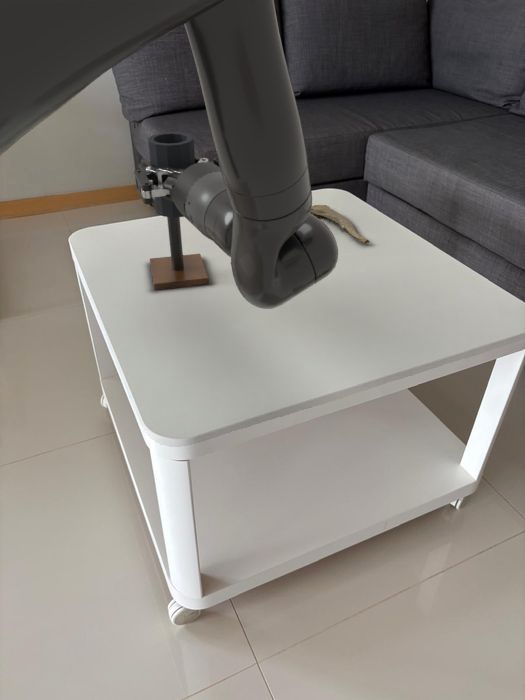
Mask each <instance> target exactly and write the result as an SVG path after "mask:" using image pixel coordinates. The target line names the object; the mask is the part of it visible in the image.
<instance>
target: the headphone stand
mask: <svg viewBox="0 0 525 700" xmlns="http://www.w3.org/2000/svg"><path fill="white" fill-rule="evenodd" d="M166 218H167V219H166V220H167V230H168V239H169V249H170V250H169V251H170V256H161V257H152V258H149V265H150V270H151V272H150V273H151V276H152V282H153V288H154V289H153V290H154V291H159V290H167V289H177V288H184V287H185V288H186V287H193V286H202V285H209V276H208V272H207V270H206V267H205V264H204V260H203V257H202V255H201V253H192V254H184V253H183V242H182V241H183V239H182V229H181V228H182V227H181V217H176V218H171V217H166Z"/></svg>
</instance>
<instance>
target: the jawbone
mask: <svg viewBox="0 0 525 700" xmlns="http://www.w3.org/2000/svg"><path fill="white" fill-rule="evenodd" d="M310 213H311V214H313V215H315V216H321V217H323V218H326V219H328V220H330V221H333V222H335V224H338V225H339V226H340V227H341V228H342V229H345V230H346V231H347V233H349V234H350V235H351V236H353V237H354V238H356V239H357V240H358V241H359V242H360V243H364V244H369V243H370V240H369V239H368V238H366V237H365V236H363V235H362V234H359V233H358V231H356V229H355V227H354V225H353V223H352V222H351V221H350V220H349V219H348V218H346V217H345V216H343V215H342V214H340V213H339V212H338V211H336V210H334V209H333V208H331V207H330V206H329V205H326V204H314V205H312V208H311V212H310Z"/></svg>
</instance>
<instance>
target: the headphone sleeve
mask: <svg viewBox="0 0 525 700" xmlns="http://www.w3.org/2000/svg"><path fill="white" fill-rule="evenodd" d="M147 144H148V153H149V154H148V155H149V162H150V163H151V164H153V165H154V166H155V167H156V168H162V167H164V166H166V167H170V168H174V169H177V170H178V169H187V168H188V167H189V166H191V165H193V164H195V155H196V153H195V140H194V136H193V135H191V134H188V133H186V132H179V131H167V132H160V133H155V134H152V135H151V136H149V137H147ZM168 177H169V175H168ZM156 180H157V182H158V177H157V175H156ZM154 205H155V207H154V208H155V212H156V214H158V215H159V216H162V217H165V218H167V217H171V218H176V217H180V218H185V217H184V216H183V215H182V214H181V213H180V211H179V210H178V209H177V207H176V205H175V203H174V202H173V201H171V200H167V199H166V198H165V197H164V196H161V197H155V199H154Z"/></svg>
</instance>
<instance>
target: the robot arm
mask: <svg viewBox="0 0 525 700" xmlns="http://www.w3.org/2000/svg"><path fill="white" fill-rule="evenodd" d="M276 12H277V11H276V6H275V1H274V0H0V156H2V155H3V154H4V153H5V152H7V151H8V150H9V149H10V148H11V147H12V146H14V144H16V143H17V142H19V140H21V139H22V138H23V137H24V136H25V135H26V134H28V133H29V132H30V131H32V130H33V129H35V128H36V127H37V126H38V125H40V124H42V122H44V121H45V120H46V119H48V118H50V117H51V116H52V115H54V114H55V113H56V112H57V111H59V110H60V109H62V108H63V107H64V106H65V105H66V104H67V103H69V102H70V101H72V99H74V98H75V97H76V96H78V95H79V94H80V93H81V92H83V91H84V90H85V89H86V88H87V87H89V86H90V85H91V84H93V82H95V81H96V80H97V79H99V78H100V77H101V76H102V75H104V74H105V73H106V72H108V71H109V70H111V69H112V68H115V66H117V65H118V64H120V63H121V62H122V61H124V60H126V59H127V58H130V57H131V56H133V55H134V54H136V53H137V52H139V51H141V50H143V49H144V48H146V47H147V46H149V45H151V44H153V43H155V42H156V41H158V40H160V39H161V38H163V37H165V36H166V35H168V34H170V33H171V32H173V31H175V30H176V29H178V28H180V27H182V26H184V28H185V31H186V35H187V38H188V41H189V45H190V49H191V51H192V52H191V53H192V56H193V60H194V63H195V68H196V71H197V74H198V80H199V83H200V87H201V88H200V89H201V93H202V96H203V100H204V101H203V102H204V104H205V110H206V114H207V119H208V123H209V129H210V133H211V137H212V142H213V146H214V151H215V154H216V157H214V158H213V159H212V160H213V161H209V158H208V157H201V156H200V155H198V154H195V164H193V165H191V166H189V167H188V168H187V169H178V170H177V169H174V168H170V167H166V166H164V167H162V168H156V167H155V166H154V165H153V164H151V163H150V160H149V159H147V158H145V159H144V158H143V159H141V160H140V163H138V169H136V170H134V171H133V174H134V175H133V176H134V179H135V189H136V192H137V194H138V196H139V197H140V199H141V201H142V202H143V204H144V205H152V204H154V200H155V197H161V196H164V197H165V198H166V199H167V200H171V201H173V202H174V203H175V205H176V207H177V209H178V210H179V211H180V213H181V214H182V215H183V216H184V217H183V218H185V219H186V220H187V221H188V222H189V223H190V224H191V225H192V226H193V227H194V228H195V229H196V230H198V232H200V233H201V235H203V236H204V237H205V238H207V239H209V240H210V241H212V242H213V243H214V244H215V245H216V246H217V247H218V248H220V250H221V251H222V252H223V253H225V255H227V256H228V257H229V258H230V266H231V271H232V272H231V274H232V276H233V281H234V283H235V285H236V288H237V289H238V291H239V293H240V295H241V296H242V297H243V299H245V301H247V302H248V303H249V304H251V305H252V306H254V307H256V308H259V309H262V310H274V309H276V308H279V307H281V306H282V305H284V304H286V303H288V301H291V300H292V299H294V298H295V297H297V296H298V295H300V294H301V293H303V292H305V291H307V290H308V289H310V288H311V287H313V286H314V285H316V284H318V283H319V282H321V281H322V280H324V279H325V278H327V277H328V276H329V275H331V273H332V272H333V271H334V269H336V266H337V263H338V261H339V248H338V244H337V240H336V237H335V235H334V234H333V232H332V231H331V229H330V227H328V225H327V224H326V223H325V222H324V221H322V220H321V219H320V218H319V217H317V215H316V214H313V213H310V212H311V208H312V206H313V193H312V183H311V175H310V167H309V159H308V152H307V145H306V140H305V135H304V130H303V124H302V121H301V115H300V112H299V107H298V103H297V99H296V95H295V91H294V87H293V84H292V83H293V82H292V80H291V76H290V71H289V67H288V64H287V60H286V55H285V52H284V47H283V43H282V39H281V34H280V29H279V24H278V19H277V13H276ZM156 175H157V177H158V182H157V180H156ZM168 175H169V177H168Z"/></svg>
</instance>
